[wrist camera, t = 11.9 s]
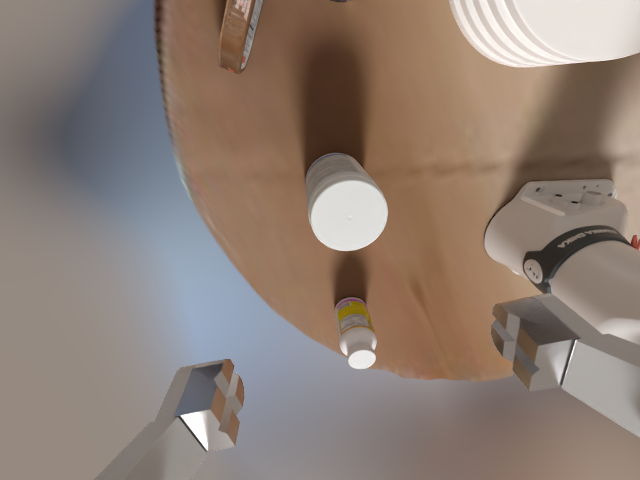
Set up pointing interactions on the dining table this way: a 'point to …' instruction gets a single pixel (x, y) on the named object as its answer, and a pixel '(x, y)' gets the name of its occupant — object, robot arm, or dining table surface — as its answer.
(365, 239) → the supplement tub
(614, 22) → the plate stack
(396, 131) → the dining table surface
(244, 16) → the tin
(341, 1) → the black french press
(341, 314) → the supplement bottle
